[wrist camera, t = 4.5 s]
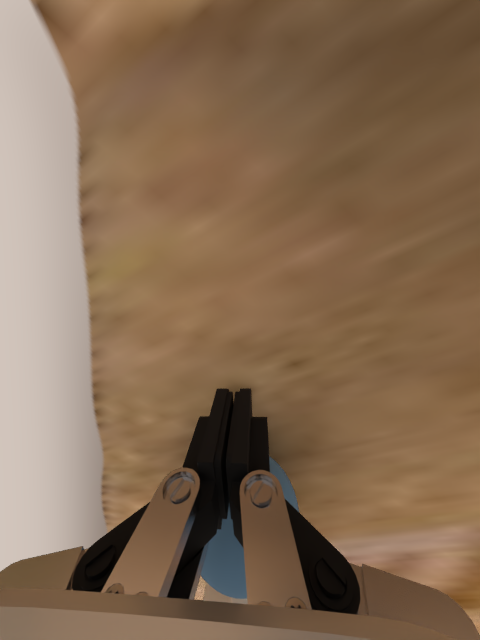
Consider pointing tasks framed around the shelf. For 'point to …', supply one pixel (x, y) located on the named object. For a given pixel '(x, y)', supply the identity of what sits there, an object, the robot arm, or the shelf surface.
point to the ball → (236, 548)
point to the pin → (214, 595)
